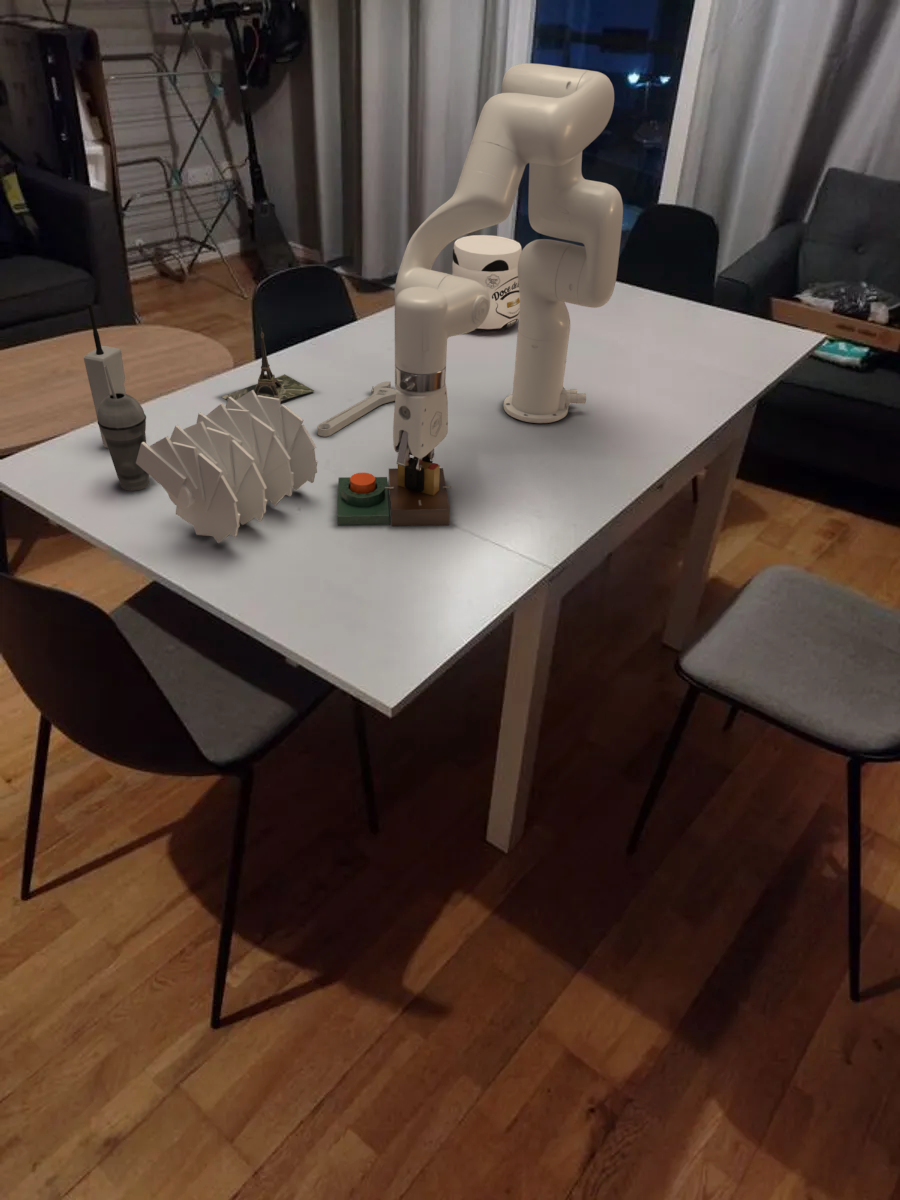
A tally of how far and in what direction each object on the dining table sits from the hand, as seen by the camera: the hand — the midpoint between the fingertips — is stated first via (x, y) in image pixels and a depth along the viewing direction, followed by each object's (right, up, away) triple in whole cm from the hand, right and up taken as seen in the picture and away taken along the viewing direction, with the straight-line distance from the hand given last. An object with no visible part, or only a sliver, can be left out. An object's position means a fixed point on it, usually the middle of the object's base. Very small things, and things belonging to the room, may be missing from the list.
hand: (418, 484), depth 140 cm
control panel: (0, -3, +2) cm, 4 cm away
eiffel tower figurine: (-31, +22, +33) cm, 50 cm away
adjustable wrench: (-12, +18, +29) cm, 36 cm away
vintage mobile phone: (-53, +9, +15) cm, 55 cm away
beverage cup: (-47, 0, +4) cm, 47 cm away
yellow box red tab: (0, -1, 0) cm, 1 cm away
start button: (-9, -1, 0) cm, 9 cm away
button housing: (-9, -3, +1) cm, 10 cm away
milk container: (+13, +47, +67) cm, 83 cm away
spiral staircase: (-28, -5, -1) cm, 28 cm away
